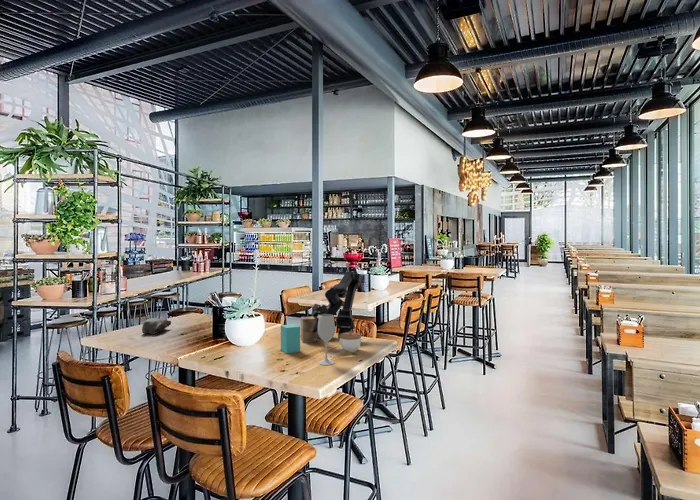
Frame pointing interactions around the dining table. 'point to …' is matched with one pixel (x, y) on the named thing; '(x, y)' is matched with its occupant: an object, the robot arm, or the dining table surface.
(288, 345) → the teal block
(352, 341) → the lidded jar
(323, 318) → the wineglass
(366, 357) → the dining table surface
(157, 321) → the rock
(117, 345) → the dining table surface
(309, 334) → the walnut block
